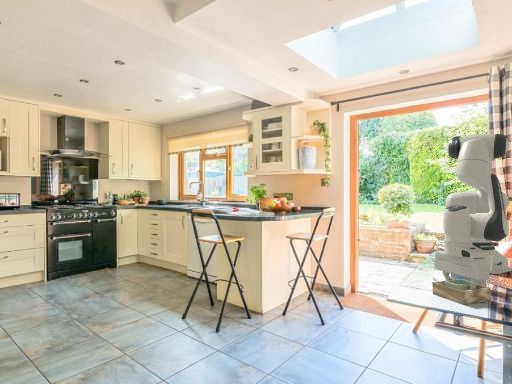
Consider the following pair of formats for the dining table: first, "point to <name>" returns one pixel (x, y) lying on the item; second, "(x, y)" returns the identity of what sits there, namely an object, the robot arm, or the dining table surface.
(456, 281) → the green crate
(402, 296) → the dining table surface
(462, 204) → the robot arm
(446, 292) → the birch crate
